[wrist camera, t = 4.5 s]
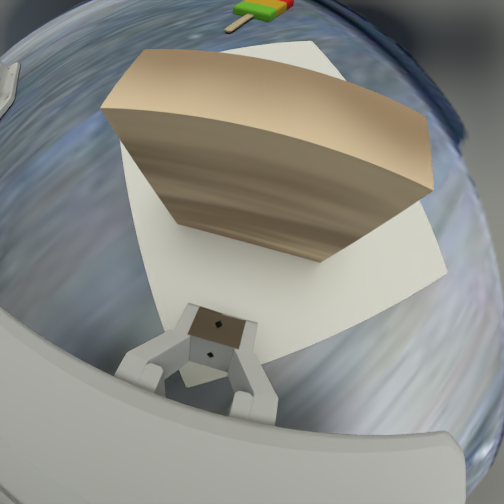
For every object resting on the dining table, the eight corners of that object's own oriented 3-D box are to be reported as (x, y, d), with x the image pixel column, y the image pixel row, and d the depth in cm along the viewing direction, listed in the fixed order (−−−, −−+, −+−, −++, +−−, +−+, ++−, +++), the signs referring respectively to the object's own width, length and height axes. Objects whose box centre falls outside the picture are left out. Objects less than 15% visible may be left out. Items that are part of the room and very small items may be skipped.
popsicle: (295, 6, 27) (297, -3, 25) (247, 41, 24) (247, 29, 22) (263, -3, 28) (263, -11, 26) (208, 32, 25) (207, 21, 23)
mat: (117, 89, 22) (115, 84, 21) (310, 45, 24) (311, 40, 23) (188, 384, 17) (186, 388, 16) (441, 274, 19) (447, 272, 18)
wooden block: (320, 262, 18) (433, 190, 6) (177, 224, 18) (100, 107, 6) (328, 219, 19) (425, 113, 7) (192, 183, 19) (146, 47, 7)
